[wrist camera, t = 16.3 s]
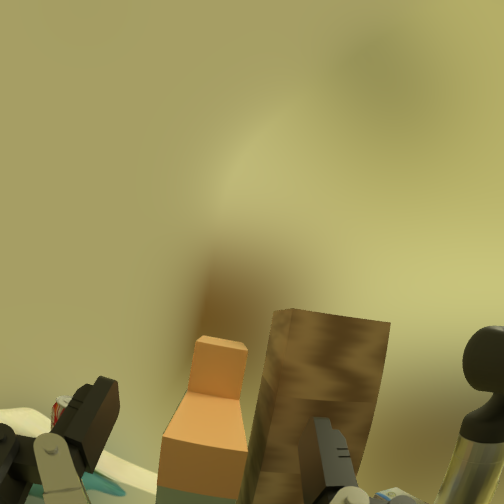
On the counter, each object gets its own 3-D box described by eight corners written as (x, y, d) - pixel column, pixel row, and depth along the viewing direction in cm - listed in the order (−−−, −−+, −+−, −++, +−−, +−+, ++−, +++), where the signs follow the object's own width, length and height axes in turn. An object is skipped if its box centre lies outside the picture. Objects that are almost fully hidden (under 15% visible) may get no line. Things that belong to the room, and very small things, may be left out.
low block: (213, 517, 32) (237, 392, 37) (211, 600, 14) (247, 448, 19) (171, 510, 32) (189, 383, 36) (150, 590, 14) (163, 433, 19)
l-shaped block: (231, 407, 29) (242, 342, 31) (237, 499, 12) (263, 373, 13) (192, 400, 29) (203, 335, 31) (156, 485, 12) (174, 356, 13)
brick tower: (299, 526, 32) (349, 322, 39) (318, 570, 21) (390, 322, 28) (231, 523, 31) (273, 311, 38) (234, 570, 20) (292, 308, 27)
